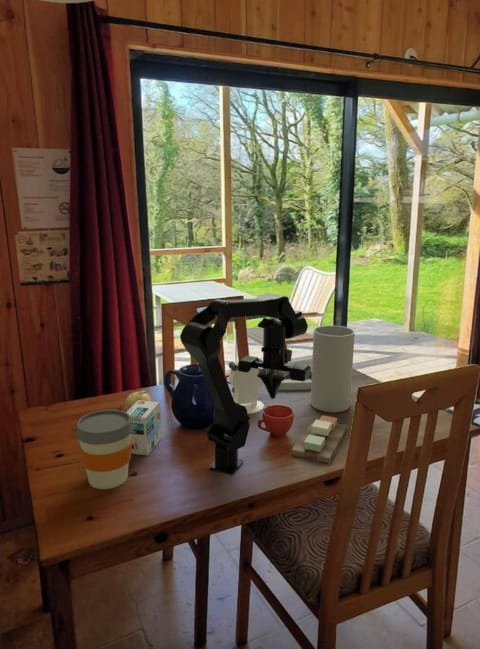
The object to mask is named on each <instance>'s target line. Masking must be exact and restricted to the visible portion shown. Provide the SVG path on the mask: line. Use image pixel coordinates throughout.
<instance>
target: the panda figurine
mask: <svg viewBox="0 0 480 649" xmlns="http://www.w3.org/2000/svg"><path fill="white" fill-rule="evenodd" d="M259 362H263V359H261V358H259ZM228 367H229V370H230V371H229V376H228V380H229V383H230V385H231V386H232V388H231V393H233V395H234V396H233V399H234V402H236V403H238V404H240V405H243V406H245V407H246V409H247V414H248V415H253V414H256V413H259V412H260V413H261V412H262V411H263V410H264V409H265V404H264V403H263V402H262V401H261V400H258V397H259V391H260V390H261V389H262V387H263V386H265V385H264V383H263V381H262V380H261V378H260V377H257V375H258V374H259V369H255V368H251V370H250V371H249V372H241V371H238V362H236V363H235V362H234V361H230V362H229V363H228Z"/></svg>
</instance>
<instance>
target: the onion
mask: <svg viewBox="0 0 480 649" xmlns="http://www.w3.org/2000/svg"><path fill="white" fill-rule="evenodd" d="M146 392H147V391H146V390H144V388H141V390H140V391H134V392H132V393H129V395H128V396H127V397H126V399H125V402H124V403H125V408H126V409H127V411H128V410H129V409H130V408H131V407H132V406H133V405H134V404H135V403H136V402H137V401H138V400H142V401H151V402H153V399H152V398H151V396H150V395H149V394H148V393H146Z"/></svg>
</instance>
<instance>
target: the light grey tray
mask: <svg viewBox="0 0 480 649" xmlns="http://www.w3.org/2000/svg"><path fill="white" fill-rule="evenodd" d="M275 375H276V373H274V376H275ZM311 383H312V369H311V375H310V376H309V377H308V378H307V379H306V380H305V381H296V380H292V379H291V378H290V374H289V376H288V377H287V378H286V379H285V380H284V381H282V382H281V384H280V386H279V389H278V391H303V390H305V391H308V390H309V389H311ZM309 391H310V390H309Z"/></svg>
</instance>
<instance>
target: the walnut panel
mask: <svg viewBox="0 0 480 649" xmlns="http://www.w3.org/2000/svg"><path fill="white" fill-rule="evenodd" d="M315 420H318V419H317V418H316V419H315V418H313V420H312V421H311V422H310V424H309V425H308V426H307V428H306V429H305V430H304V431H303V433H302V435H301V436H300V437H299V439H298V441H297V442H296V443H295V445H294V446H293V448H292V449H291V456H295V457H300V458H304V459H309V460H313V461H317V462H322V463H327V464H330V463H331V461H332V460H333V457H334V456H335V454H336V452H337V450H338V448H339V446H340V445H341V443H342V441H343V439H344V438H345V436H346V434H347V432H348V425H347V424H341V423H337V425H336V427H335V429H334V430H333V431H330V432H329V434H328V435H327V436H326V437H325V445H324V447H323V448H322V450H321V452H317V451H312V450H308V449H304V441H305V439H306V438H307V437H308V435H309V434H310V435H315V436H317V434H315V433H311V428H312V425H313V423H314V422H315Z"/></svg>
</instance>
